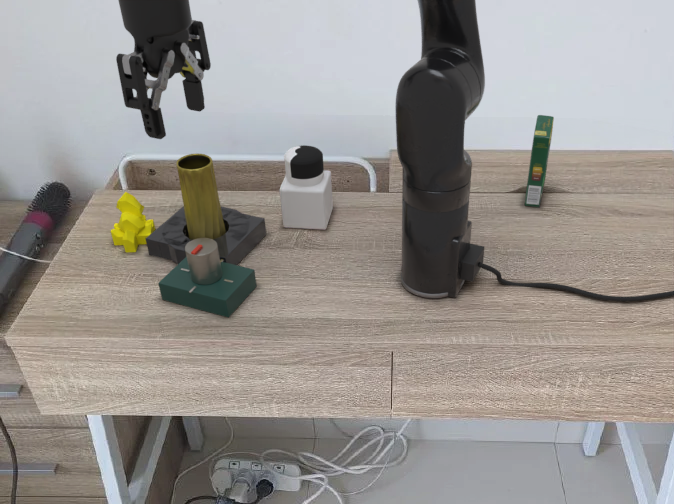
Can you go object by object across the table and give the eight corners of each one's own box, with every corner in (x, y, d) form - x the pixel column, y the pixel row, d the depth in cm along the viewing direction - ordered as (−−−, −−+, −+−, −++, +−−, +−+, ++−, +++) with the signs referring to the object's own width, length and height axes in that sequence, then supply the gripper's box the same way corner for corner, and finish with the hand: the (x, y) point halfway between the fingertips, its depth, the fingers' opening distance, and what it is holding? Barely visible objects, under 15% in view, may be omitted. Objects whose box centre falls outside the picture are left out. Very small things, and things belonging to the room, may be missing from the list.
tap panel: (258, 285, 115) (255, 267, 113) (227, 318, 109) (224, 300, 107) (193, 269, 118) (190, 251, 116) (160, 301, 112) (156, 283, 110)
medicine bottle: (333, 208, 132) (329, 141, 124) (326, 230, 126) (321, 162, 118) (291, 205, 132) (285, 139, 124) (282, 228, 127) (275, 160, 119)
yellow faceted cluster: (111, 253, 121) (99, 209, 116) (121, 225, 127) (110, 182, 122) (150, 251, 121) (139, 207, 116) (158, 224, 127) (148, 181, 122)
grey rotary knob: (201, 264, 114) (195, 233, 110) (228, 270, 112) (222, 239, 109) (185, 281, 110) (178, 249, 107) (212, 287, 109) (206, 255, 106)
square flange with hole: (268, 232, 126) (266, 216, 124) (225, 276, 116) (222, 260, 115) (194, 215, 130) (191, 199, 128) (146, 257, 120) (142, 240, 118)
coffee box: (540, 209, 132) (551, 136, 123) (523, 207, 132) (532, 134, 124) (544, 186, 138) (555, 115, 129) (528, 184, 138) (537, 113, 130)
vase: (181, 250, 122) (164, 167, 112) (202, 230, 126) (187, 149, 117) (216, 258, 120) (201, 174, 111) (235, 238, 124) (223, 155, 115)
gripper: (140, 6, 80) (170, 153, 90) (214, -31, 90) (233, 105, 100) (80, -3, 82) (116, 142, 92) (159, -38, 92) (183, 96, 102)
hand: (177, 122), depth 96 cm, fingers open, 8 cm apart
